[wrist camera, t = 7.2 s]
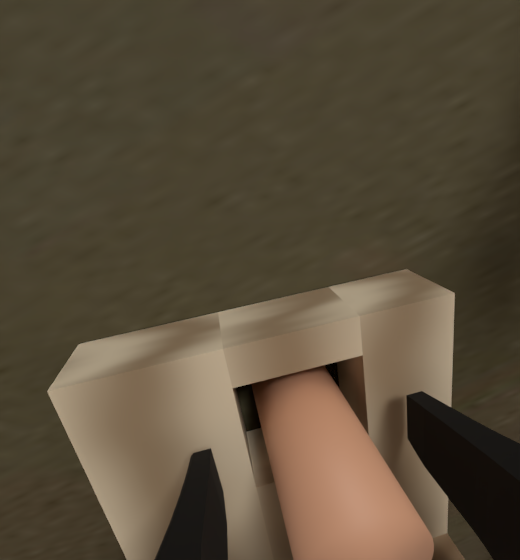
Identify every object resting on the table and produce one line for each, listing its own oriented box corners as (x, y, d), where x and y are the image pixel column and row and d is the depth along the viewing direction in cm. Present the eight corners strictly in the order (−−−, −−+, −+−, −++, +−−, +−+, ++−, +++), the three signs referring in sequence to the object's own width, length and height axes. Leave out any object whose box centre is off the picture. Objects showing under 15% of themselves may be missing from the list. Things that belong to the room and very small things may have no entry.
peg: (320, 335, 15) (438, 500, 8) (324, 397, 16) (430, 593, 9) (245, 350, 15) (294, 539, 7) (255, 412, 16) (305, 631, 8)
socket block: (406, 269, 15) (561, 346, 9) (411, 494, 20) (512, 651, 13) (78, 344, 13) (-29, 504, 7) (170, 567, 18) (155, 783, 12)
